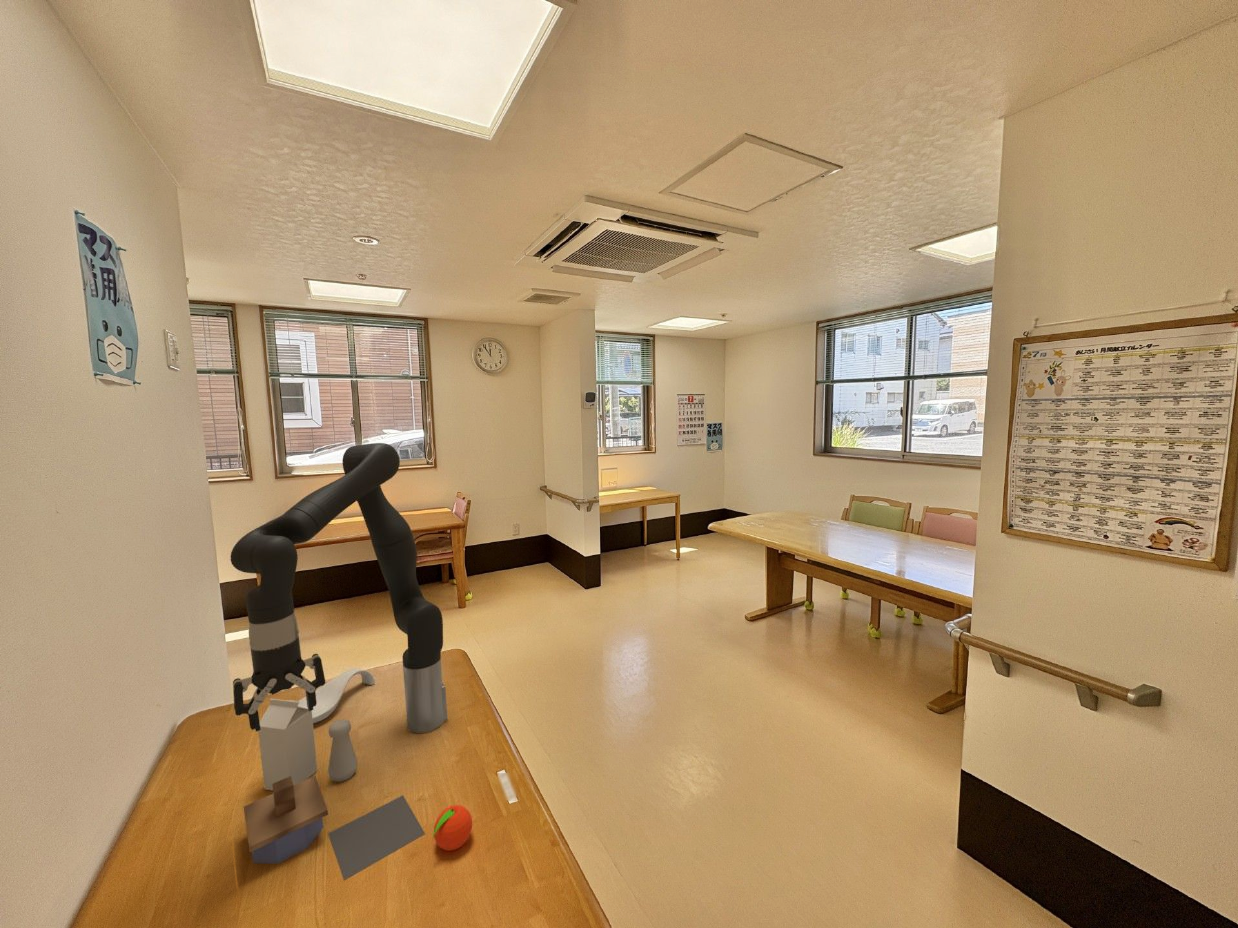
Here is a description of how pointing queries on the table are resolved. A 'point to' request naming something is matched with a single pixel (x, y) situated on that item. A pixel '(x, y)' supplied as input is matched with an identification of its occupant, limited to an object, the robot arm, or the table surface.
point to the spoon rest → (334, 693)
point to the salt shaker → (341, 752)
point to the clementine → (452, 827)
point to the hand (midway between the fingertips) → (284, 718)
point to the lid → (283, 811)
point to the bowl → (288, 844)
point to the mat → (374, 836)
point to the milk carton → (287, 743)
